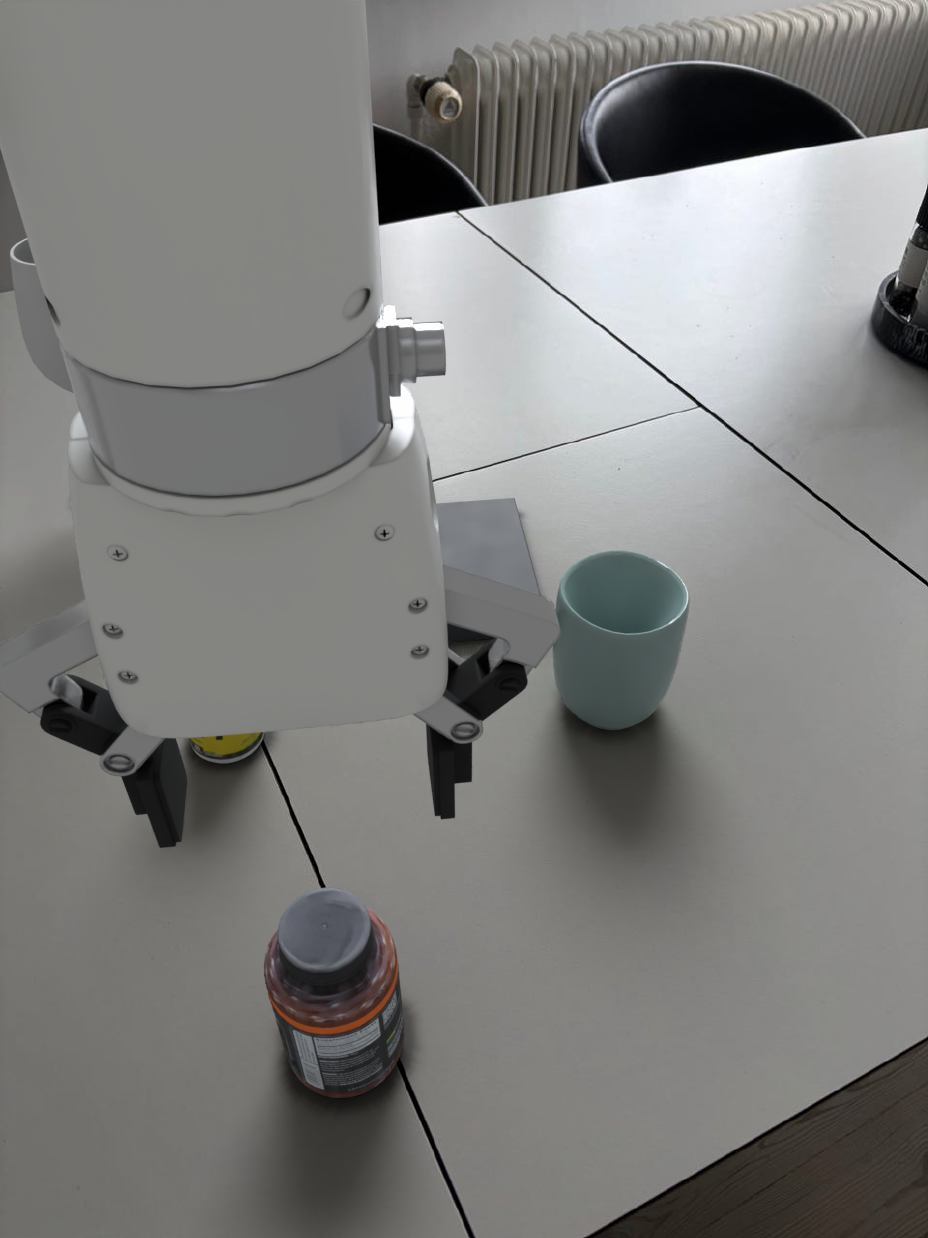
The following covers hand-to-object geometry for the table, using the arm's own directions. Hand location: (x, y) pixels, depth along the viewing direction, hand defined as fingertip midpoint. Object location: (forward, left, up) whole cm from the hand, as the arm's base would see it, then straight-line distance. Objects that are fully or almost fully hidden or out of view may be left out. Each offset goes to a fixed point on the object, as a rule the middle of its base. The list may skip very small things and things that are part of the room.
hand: (309, 800), depth 36 cm
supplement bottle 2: (0, 0, -20) cm, 20 cm away
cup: (+18, +21, -20) cm, 34 cm away
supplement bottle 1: (-7, +21, -20) cm, 30 cm away
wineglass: (-17, +49, -20) cm, 56 cm away
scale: (+7, +35, -20) cm, 41 cm away
